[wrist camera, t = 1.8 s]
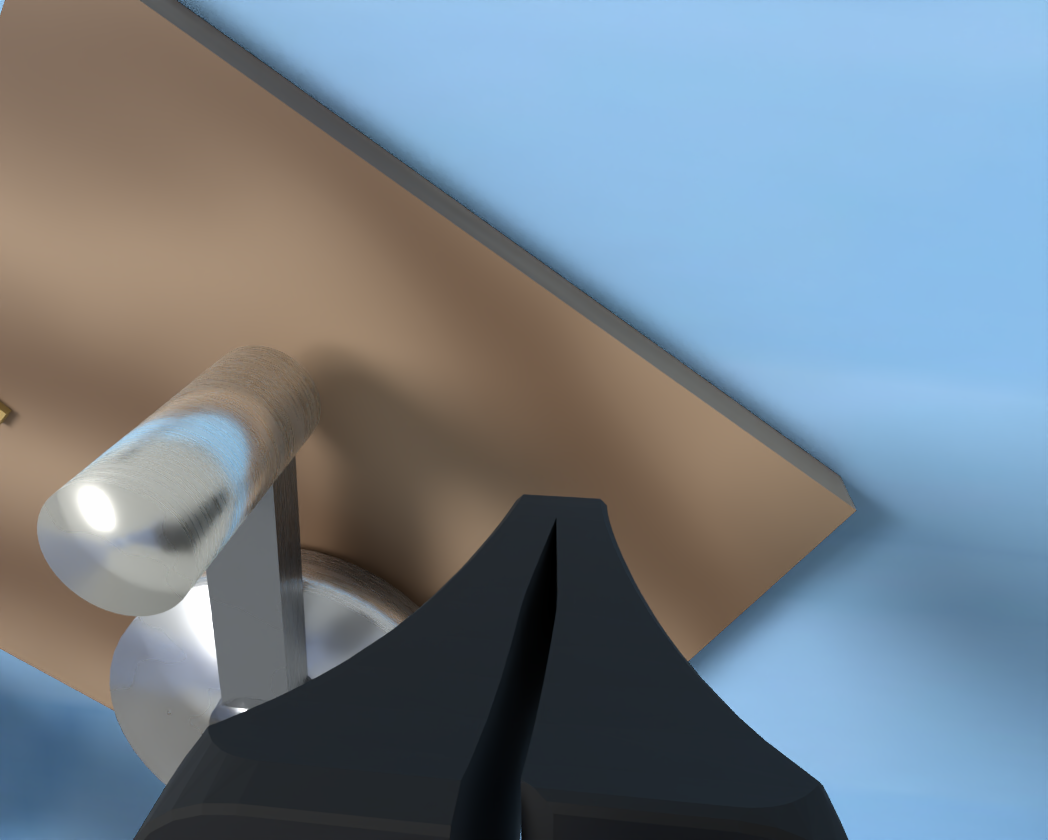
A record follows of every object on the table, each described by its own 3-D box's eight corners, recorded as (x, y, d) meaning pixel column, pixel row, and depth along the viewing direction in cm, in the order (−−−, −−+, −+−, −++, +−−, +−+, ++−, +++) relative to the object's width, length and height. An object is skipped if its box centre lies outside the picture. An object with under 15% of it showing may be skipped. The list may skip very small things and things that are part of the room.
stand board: (446, 843, 27) (435, 892, 25) (-124, 526, 23) (-176, 561, 22) (840, 476, 19) (858, 515, 18) (80, -69, 16) (21, -80, 14)
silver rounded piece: (458, 820, 23) (402, 1081, 18) (162, 773, 24) (14, 1010, 18) (487, 353, 17) (414, 524, 11) (80, 305, 17) (-194, 444, 12)
